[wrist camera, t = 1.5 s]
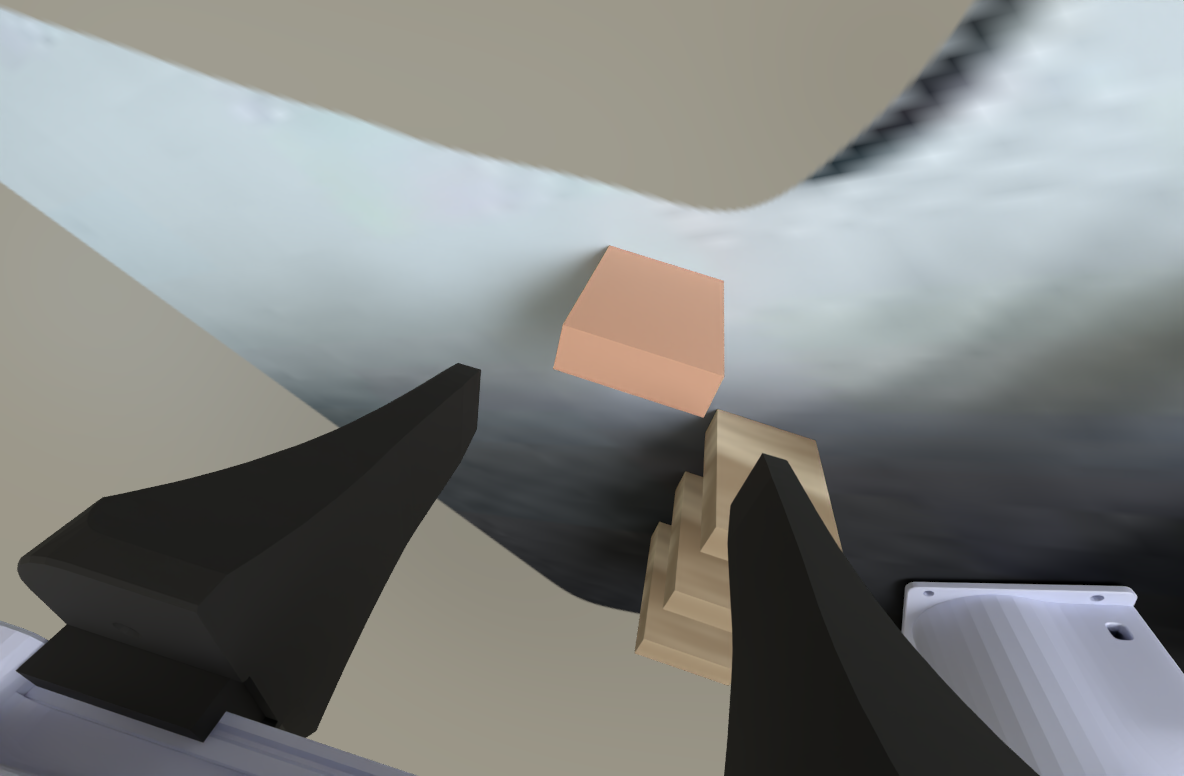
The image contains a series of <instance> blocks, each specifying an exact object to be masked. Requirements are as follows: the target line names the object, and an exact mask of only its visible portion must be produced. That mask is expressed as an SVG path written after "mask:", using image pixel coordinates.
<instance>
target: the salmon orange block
mask: <svg viewBox="0 0 1184 776" xmlns="http://www.w3.org/2000/svg"><path fill="white" fill-rule="evenodd" d="M553 369H555V370H558V371H561V372H564V373H567V374H571V375H574V376H577V377H580V378H583V379H586V380H589V381H592V382H595V383H598V384H601V385H604V386H608V387H611V388H614V389H617V390H620V391H623V392H626V393H629V394H632V395H635V396H638V397H641V398H645V399H648V400H651V401H654V402H657V403H660V404H663V405H666V406H669V407H672V408H675V409H678V410H682V411H685V412H688V413H691V414H694V415H697V416H700V417H703V418H704V416H705V414H706V412H707V410H708V408H709V406H710V404H711V402H712V400H713V398H714V396H715V394H716V392H717V390H718V388H719V386H720V384H721V382H722V380H723V378H724V281H722V280H719V279H716V278H713V277H709V276H706V275H703V274H700V273H696V272H693V271H690V270H687V269H684V268H680V267H677V266H674V265H671V264H668V263H664V262H661V261H658V260H655V259H651V258H648V257H645V256H642V255H639V254H635V253H632V252H629V251H626V250H622V249H619V248H616V247H613V246H610V245H609V247H608V249H607V250H606V252H605V254H604V255H603V257H602V259H601V260H600V262H599V264H598V266H597V267H596V269H595V271H594V272H593V274H592V276H591V278H590V279H589V281H588V283H587V284H586V286H585V288H584V289H583V291H582V293H581V295H580V296H579V298H578V300H577V301H576V303H575V305H574V307H573V308H572V310H571V312H570V313H569V315H568V317H567V318H566V320H565V322H564V324H563V326H562V331H561V335H560V340H559V345H558V349H557V354H556V358H555V363H554V368H553Z"/></svg>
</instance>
